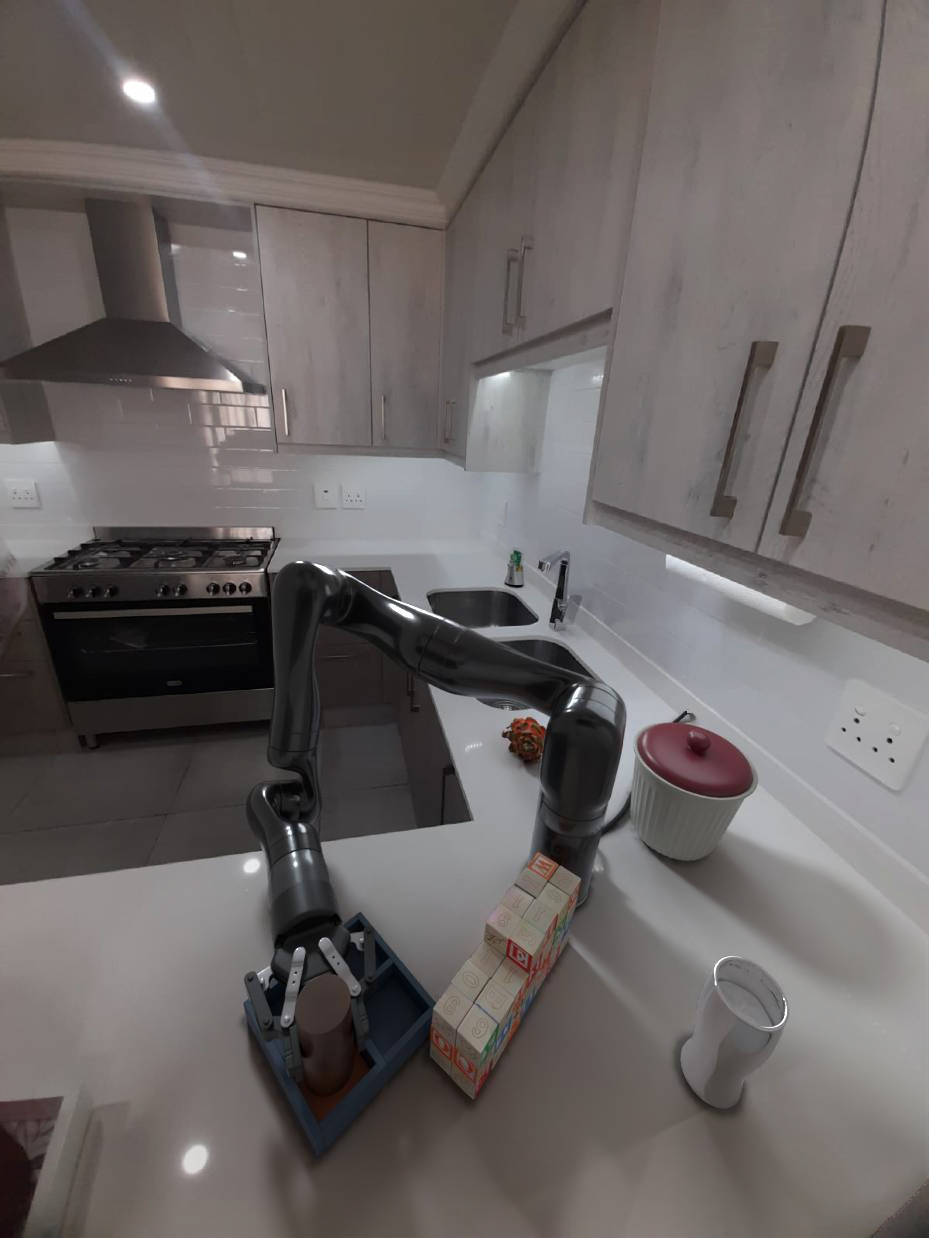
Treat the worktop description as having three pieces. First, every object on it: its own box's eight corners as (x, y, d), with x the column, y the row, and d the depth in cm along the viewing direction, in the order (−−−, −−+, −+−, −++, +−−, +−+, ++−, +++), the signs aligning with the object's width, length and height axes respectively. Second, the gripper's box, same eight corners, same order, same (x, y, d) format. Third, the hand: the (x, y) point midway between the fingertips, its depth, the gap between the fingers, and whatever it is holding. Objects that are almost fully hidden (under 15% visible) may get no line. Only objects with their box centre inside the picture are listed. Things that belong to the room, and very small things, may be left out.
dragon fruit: (530, 781, 95) (512, 748, 106) (565, 755, 95) (543, 725, 106) (507, 752, 92) (491, 722, 103) (544, 725, 92) (523, 698, 103)
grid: (361, 928, 65) (360, 910, 64) (438, 1024, 56) (439, 1006, 54) (246, 1020, 55) (242, 1002, 54) (318, 1158, 46) (315, 1140, 44)
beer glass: (752, 1070, 53) (798, 989, 47) (734, 1134, 49) (783, 1052, 43) (688, 1019, 58) (723, 938, 51) (666, 1073, 53) (701, 991, 47)
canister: (629, 875, 75) (659, 768, 66) (605, 789, 92) (627, 695, 83) (748, 886, 75) (794, 779, 66) (702, 798, 91) (734, 704, 82)
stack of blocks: (474, 1104, 50) (482, 1036, 45) (428, 1056, 53) (431, 989, 48) (568, 940, 65) (582, 877, 60) (528, 911, 69) (538, 849, 64)
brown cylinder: (337, 1024, 53) (332, 962, 48) (364, 1065, 50) (361, 1003, 45) (294, 1064, 50) (284, 1001, 45) (320, 1111, 46) (312, 1049, 42)
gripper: (233, 902, 54) (241, 1081, 40) (360, 859, 60) (406, 1002, 46) (241, 944, 57) (252, 1124, 43) (362, 899, 63) (405, 1045, 49)
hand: (331, 1060), depth 45 cm, fingers closed on brown cylinder, 5 cm apart
